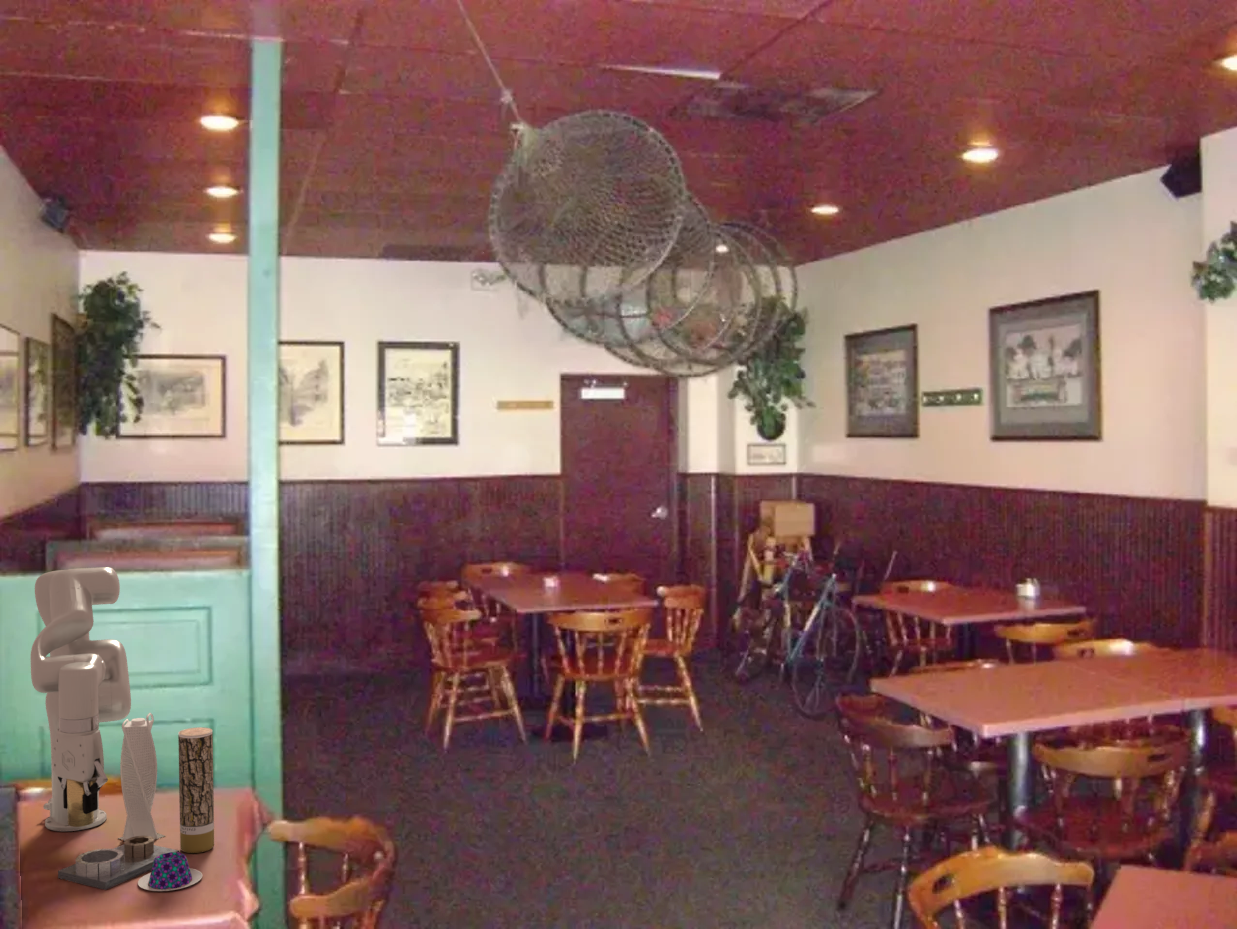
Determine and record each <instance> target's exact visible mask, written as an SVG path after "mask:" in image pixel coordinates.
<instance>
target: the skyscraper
mask: <svg viewBox="0 0 1237 929" xmlns="http://www.w3.org/2000/svg"><path fill="white" fill-rule="evenodd" d="M149 717H150V719H151V720H149ZM154 721H155V718H154V715H153V714H152V712H149V713H148V714H147V715H146V717H145V718H144V717H137V718H136V717H135V718H132V719H131V720H129V718H126V719H125V720H124V721H123V722H122V724H121V729H122V732H123V739H122V743H121V744H122V745H121V746H122V747H121V752H120V762H119V763H120V764H119V766H120V767H119V768H120V769H119V771H120V774H119V775H120V785H121V792H122V799H123V803H124V808H125V811H126V812H125V813H126V820H125V824H124V828H123V829H124V830H123V832H122V836H120V837H117V839H118V840H119V839H121V840H120V841H122V840H123V842H125V840H126V839H129V838H131V837H135V836H151V837H154V841H156V840H159V838H160V839H163V838H165V836H166V835H164V834H162V833H159V832H157V829H156V826H155V823H154V820H153V816H152V813H151V812H152V807H153V805H154V800H155V796H156V788H157V780H158V759H157V752H156V747H155V743H154V740H153V739H154V738H153V735H152V729H153V725H154V723H155V722H154ZM162 837H163V838H162Z"/></svg>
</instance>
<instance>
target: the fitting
mask: <svg viewBox="0 0 1237 929" xmlns="http://www.w3.org/2000/svg"><path fill="white" fill-rule="evenodd" d="M89 784H90V786H91V785H92V784H93V783H92V781H90V782H89ZM83 795H85V790H84V785H83V783H82V782H77V781H73V780H69V779H67V810H68V825H69V826H72V827H81V826H86V825H89V824H92V823H93V822H94V811H93V812H90V813H88V814H85V813H84V812H83Z"/></svg>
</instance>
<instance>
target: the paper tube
mask: <svg viewBox="0 0 1237 929" xmlns="http://www.w3.org/2000/svg"><path fill="white" fill-rule="evenodd" d="M213 734H214V733H213V729H212V728H210V727H201V726H199V727H189V728H185V729H182V730H181V729H180V730H179V731H178V735H177V736H178V740H177V741H178V742H177V743H178V787H179V788H178V790H179V791H178V793H179V800H178V801H179V832H180V833H179V842H180V844H179V846H180V850H181V851H182V852H183V853H186V854H201V853H204V852H208V851H210V850H211V849H213V848H214V845H215V811H214V810H215V809H214V808H215V804H214V802H215V799H214V796H215V794H214V742H213V741H214V738H213V736H214V735H213Z"/></svg>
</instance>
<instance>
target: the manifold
mask: <svg viewBox="0 0 1237 929" xmlns="http://www.w3.org/2000/svg"><path fill="white" fill-rule="evenodd" d="M123 842H124V844H122V845H119V846H115V847H113V848H97V849H93V850H88V851H86V852H84V853H80V854H78V856H76V858H75V864H71V865H69V866H67V867H65V868H64V867H63V868H62V869H59V870H58V871H57V874H58V875H57V879H59V878H60V879H59V880H63V879H65V880H64V881H67V880H68V882H71V881H72V883H76V884H81V885H85V886H89V887H92V888H97V889H100V890H104V891H106V890H108V889H111V888H113V887H116V886H118V885H119V884H122V883H125V882H127V881H129V880H132V879H134V878H136V877H138V876H140V875H143V874H146V873H148V872H151V870H152V866H153V862H154V859H155V858H156V857H157V856H159V855H161V854H165V853H169V852H174V853H176V852H180V850H178V849H173V848H169V847H164V846H160V845H155V840H154V837H151V836H135V837H131V838H129V839H126V840H125V841H123Z"/></svg>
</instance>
